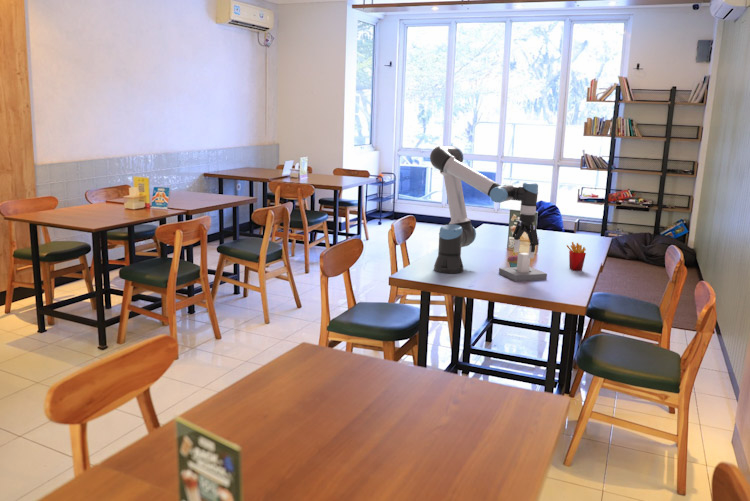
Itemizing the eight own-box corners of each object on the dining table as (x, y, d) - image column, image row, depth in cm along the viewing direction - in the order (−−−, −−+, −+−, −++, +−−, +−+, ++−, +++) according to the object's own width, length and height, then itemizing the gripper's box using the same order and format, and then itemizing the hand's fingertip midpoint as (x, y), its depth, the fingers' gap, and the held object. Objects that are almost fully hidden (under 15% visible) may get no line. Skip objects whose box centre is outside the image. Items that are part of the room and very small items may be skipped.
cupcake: (513, 270, 338) (515, 248, 335) (503, 267, 345) (505, 245, 343) (526, 269, 342) (528, 247, 339) (515, 266, 349) (517, 244, 347)
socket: (515, 281, 316) (515, 275, 315) (498, 273, 330) (499, 267, 330) (546, 279, 322) (547, 273, 321) (528, 271, 336) (529, 266, 336)
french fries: (578, 268, 349) (581, 241, 346) (585, 271, 342) (588, 244, 338) (563, 268, 348) (566, 241, 345) (570, 271, 340) (573, 244, 337)
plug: (520, 277, 323) (522, 254, 321) (516, 275, 327) (518, 252, 325) (528, 277, 325) (530, 254, 322) (523, 275, 329) (525, 252, 326)
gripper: (548, 217, 309) (544, 260, 314) (520, 209, 332) (516, 249, 337) (535, 218, 307) (530, 261, 311) (508, 209, 329) (504, 249, 334)
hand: (523, 255), depth 324 cm, fingers open, 13 cm apart
